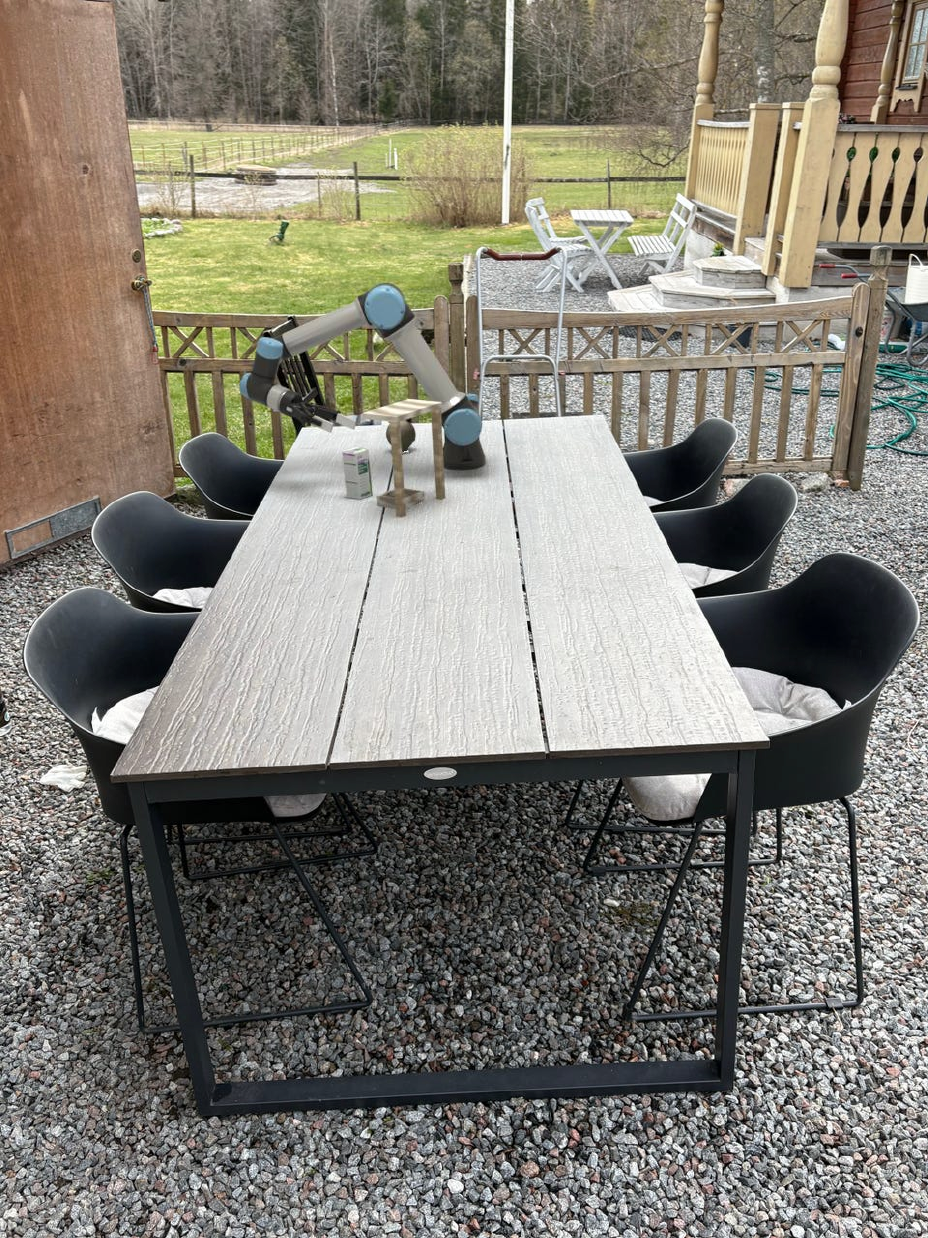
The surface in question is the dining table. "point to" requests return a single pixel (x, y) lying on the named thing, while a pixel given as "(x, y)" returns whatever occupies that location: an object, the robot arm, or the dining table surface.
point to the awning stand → (394, 414)
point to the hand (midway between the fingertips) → (343, 426)
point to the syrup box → (357, 473)
